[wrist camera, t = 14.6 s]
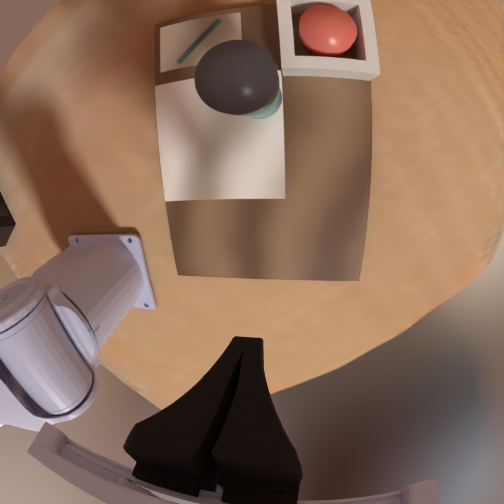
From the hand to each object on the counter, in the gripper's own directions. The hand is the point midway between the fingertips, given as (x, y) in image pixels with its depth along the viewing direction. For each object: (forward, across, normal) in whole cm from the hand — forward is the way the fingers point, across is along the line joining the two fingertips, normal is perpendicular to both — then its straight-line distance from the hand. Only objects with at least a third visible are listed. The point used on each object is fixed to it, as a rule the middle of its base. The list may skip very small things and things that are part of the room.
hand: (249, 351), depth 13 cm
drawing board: (+10, 0, -9) cm, 14 cm away
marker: (+9, 0, -12) cm, 15 cm away
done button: (+9, -4, -17) cm, 19 cm away
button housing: (+9, -4, -17) cm, 20 cm away
